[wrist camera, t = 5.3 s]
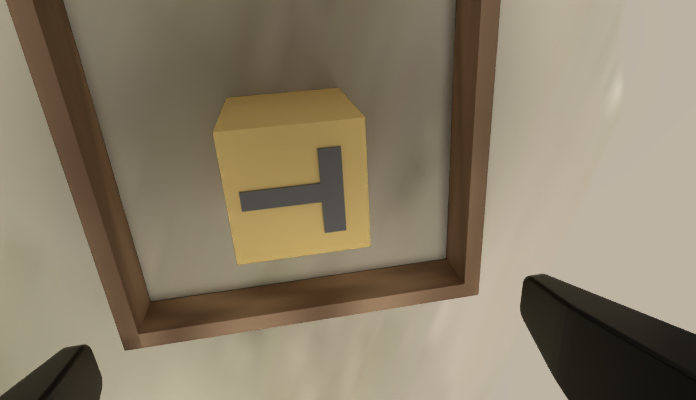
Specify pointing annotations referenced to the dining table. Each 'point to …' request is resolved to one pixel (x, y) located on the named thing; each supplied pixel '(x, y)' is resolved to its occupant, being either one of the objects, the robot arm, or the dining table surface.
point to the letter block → (293, 174)
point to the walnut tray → (277, 299)
